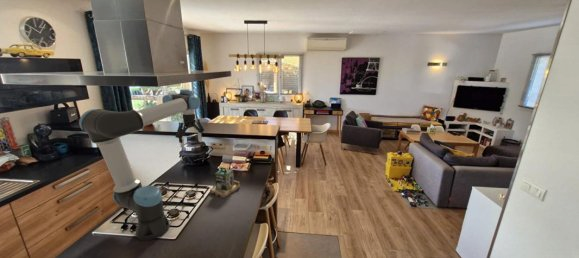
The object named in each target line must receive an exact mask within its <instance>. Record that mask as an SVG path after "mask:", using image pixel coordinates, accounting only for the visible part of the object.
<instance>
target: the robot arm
mask: <svg viewBox="0 0 579 258" xmlns="http://www.w3.org/2000/svg"><path fill="white" fill-rule="evenodd" d="M161 99H162V103H158V104H156V105H152V106H149V107H146V108H142V109H140V110H135V109H130V110H126V111H111V110H108V109H107V110H106V109H102V108H97V109H96V108H93V109H89V110H87V111H85V112H84V113H82V115H81V116H80V118H79V120H78V121H79V122H78V123H79V124H78V125H79V127H80V129H81V130H82V132H85V133H86V134H88V137H89V139H90V141H91V143H93V144H95V145H97V147H98V149H99V151H100V153H101V156H102V157H103V160H104V162H105V164H106V167H107V168H108V171H109V173H110V176H111V178H112V180H113V182H114V186H113V193H112V199H113V201H114V202H115V203H116V204H117V205H118V206H120V207H122V208H125V209H128V210H131V211H133V212H135V213H136V217H137V225H136V229H135V236H136V239H138V240H140V241H144V242H145V241H152V240H155V239H158V238H159V237H162V236H164V235H165V234H166V233H167V232H168V231H169V229H170V221H169V219H168V217H167V216H166V214H165V211H164V204H163V194H162V192H161V189H160V188H159V187H157V186H155V185H144V186H143V185H142V182H141V180H140V178H138V177H135V174H134V171H133V169H132V167H131V164H130V161H129V159H128V155H127V154H126V151H125V148H124V146H123V143H122V141H121V140H122V139H121V137H124V136H128V135H130V134H131V135H132V134H133V133H136V132H139V131H141V130H143V129H144V128H145V126H149V125H151V124H155V123H157V122H159V121H163V120H164V119H167V118H170V117H172V116H175V115H177V114H179V113H180V114H181V113H182V120H183V121H182V122H178V127H177V130H176V134H175V138H176V139H177V138H178V142H179V143H180V148H182V149H184V148H185V139H184V137H183V136H184V135H185V134H186V132H187V130H188V129H190V128H194V129H195V130H196V131H197V139H198V143H202V142H203V140H202V139H203V138H202V137H203V133H204V132H205V129H204V127H203V124H202V123H201V121H200V119H199V118H196V113H195V112H196V111H195V110H198V109H199V108H200V106H201V99H200V98H199V97H198V96H194V91H193V90H192V89H188V88H185V89H183V88H182V89H180V90H179V93H173V94H170V93H168V94H165V95H164V96H162V98H161Z"/></svg>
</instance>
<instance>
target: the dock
mask: <svg viewBox="0 0 579 258" xmlns="http://www.w3.org/2000/svg"><path fill="white" fill-rule="evenodd" d="M240 183H241V182H240V181H237V180H235V179H234V185H233V186H232V187H231V188H229V189H228V190H227V191H226V190H222V189H218V188H216V185H215V186H213V187H212V188H209V193H210V194H212V195H214V194H215V196H216V197H219V196H220V198H222V199H224V198H226V197H228V196H230V194H232V193H234V192H236V191H237V190H238V189H241V188H240V187H241V185H240Z"/></svg>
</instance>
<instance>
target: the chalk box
mask: <svg viewBox="0 0 579 258" xmlns="http://www.w3.org/2000/svg"><path fill="white" fill-rule="evenodd" d="M234 178H235V177H234V170H233V169H229V168H225V167H222V166H221V167H219V170H217V171H216V172H215V173H214V181H215V182H214V183H215V186H216V188H218V189H222V190H226V191H227V190H228V189H229V188H231V187H232V186H233V185H234V180H235V179H234Z"/></svg>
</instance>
